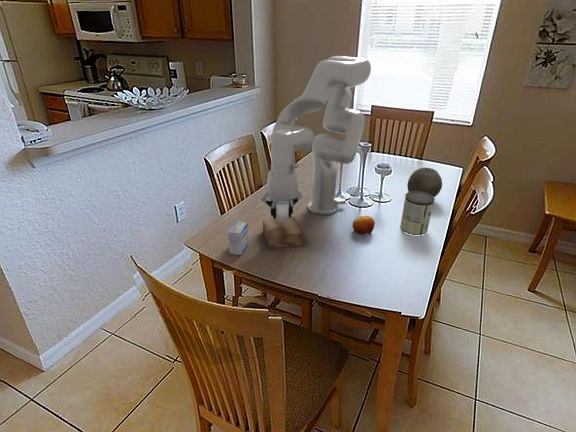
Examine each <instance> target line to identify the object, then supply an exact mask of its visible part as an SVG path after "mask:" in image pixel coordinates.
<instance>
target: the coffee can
mask: <svg viewBox="0 0 576 432" xmlns="http://www.w3.org/2000/svg"><path fill="white" fill-rule="evenodd" d="M404 197H405V198H404V203H403V209H402V215H401V221H400V225H399V229H400V228H401V230H402V231H403V232H402V231H401V230H400V231H401V232H402V233H404V232H406V233H408V234H412V235H422V234H425V233H426V232H427V233H428V230H429V225H430V222H431V221H430V220H431V216H432V211H433V207H434V203H435V200H436V199H435V197H433V196H432V195H430V194H428V193H425V192H421V191H411V192H408V191H407V192H406V193H405V196H404ZM408 234H407V235H408ZM425 235H426V234H425Z"/></svg>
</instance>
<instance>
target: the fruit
mask: <svg viewBox="0 0 576 432" xmlns="http://www.w3.org/2000/svg"><path fill="white" fill-rule="evenodd" d="M375 223H376V222H375V220H374V218H373V217H372V216H370V215H364V216H357V217H356V218H355V219H354V220H353V222H352V229H353V231H354V232H355V234H357V235H360V236H362V237H364V236H365V235H371V236H373V234H372V232H373V231H374V229H375Z"/></svg>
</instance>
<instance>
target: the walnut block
mask: <svg viewBox="0 0 576 432" xmlns="http://www.w3.org/2000/svg"><path fill="white" fill-rule="evenodd" d="M262 233H263V236H264V239H265V243H266V244H267V248H268V249H276V248H277V249H278V248H285V247H295V246H302V245H303V231H302V229H301V227H300V225H299V224H298V222H297V219H296V217H295V216H291V217H289V220H288V221H287V222H277V221H275V219H274V218H267V219H265V218H264V219H262Z"/></svg>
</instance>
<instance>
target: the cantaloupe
mask: <svg viewBox="0 0 576 432" xmlns="http://www.w3.org/2000/svg"><path fill="white" fill-rule="evenodd" d="M406 185H407V193H408V192H411V191H421V192H425V193H428V194H430V195H432V196H433V197H434V198H435V197H437V196H439V194H440V192H441V190H442V188H443V179H442V177H441V175H440V173H439V172H438V171H437V170H436V169H434V168H431V167H420V168H418V169H416V170H414V171H413V172H412V173H411V174H410V176H409V178H408V181H407V184H406Z"/></svg>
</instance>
